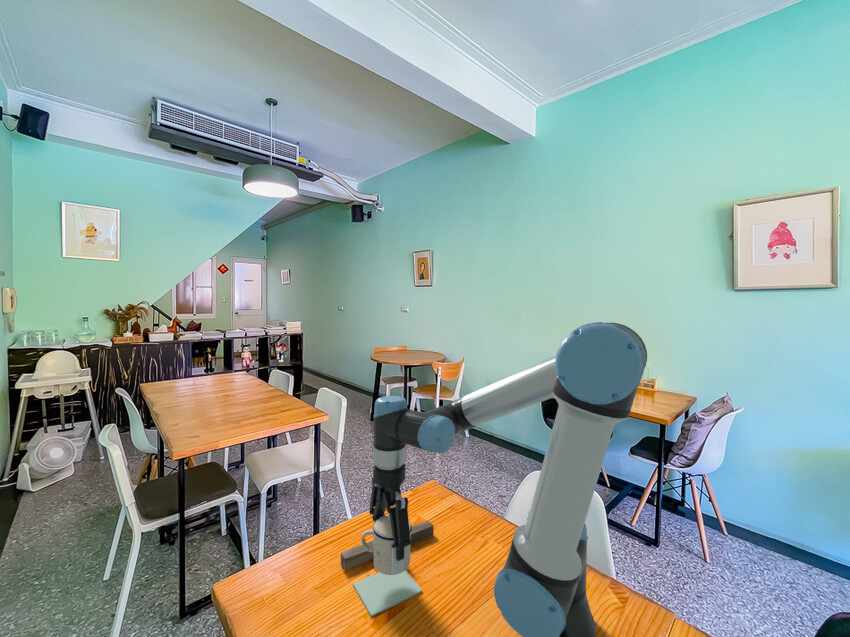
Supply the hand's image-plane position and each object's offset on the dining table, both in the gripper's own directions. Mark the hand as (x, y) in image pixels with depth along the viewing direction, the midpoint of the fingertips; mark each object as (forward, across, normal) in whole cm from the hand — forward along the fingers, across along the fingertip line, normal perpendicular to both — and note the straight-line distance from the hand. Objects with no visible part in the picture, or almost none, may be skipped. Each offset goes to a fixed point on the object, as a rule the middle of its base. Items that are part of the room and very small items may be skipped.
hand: (387, 558), depth 83 cm
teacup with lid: (+2, +1, 0) cm, 2 cm away
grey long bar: (+7, +10, -7) cm, 14 cm away
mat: (+7, 0, 0) cm, 7 cm away
